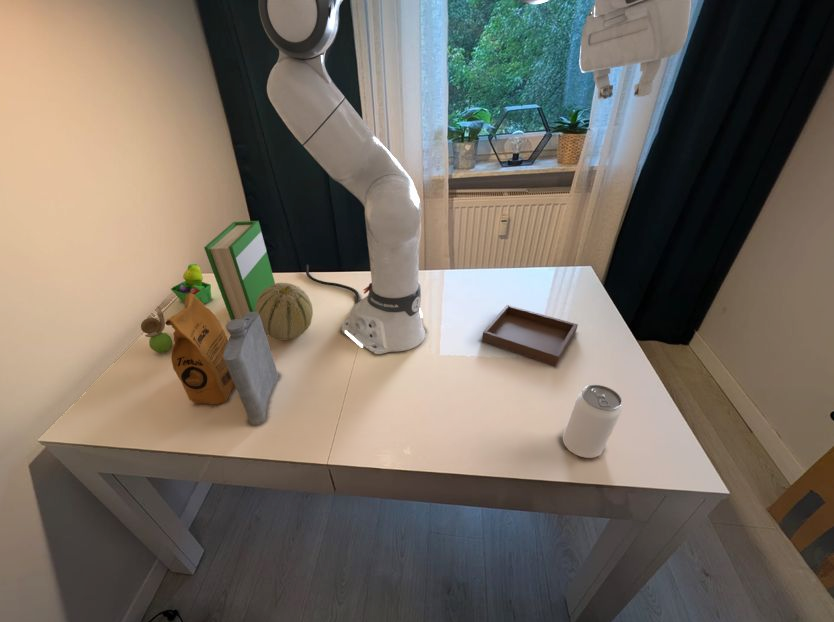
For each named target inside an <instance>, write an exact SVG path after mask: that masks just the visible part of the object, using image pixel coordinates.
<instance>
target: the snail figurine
mask: <svg viewBox="0 0 834 622" xmlns="http://www.w3.org/2000/svg"><path fill="white" fill-rule="evenodd" d="M157 309H158V311H157V313H156V315H157V317H158V318H155V317H147V318H145V319H144V320H143V321H142V322H141V323H140V329H141V331H142V332H143V333H145V337H146V338H149V341H148V345H149V347H150V349H151V350H152V351H154V352H155V353H158V354H163V353H164V354H165V353H167V352H168V351H170V350H172V348H173V345H174V340H173V339H172V336H170V334H168V333H166V332H163V331H164V330H165V326H166V324H165V323H166V321H165V317H164V311H163V310H162V308H161V307H160V306H159V305H158V306H157Z"/></svg>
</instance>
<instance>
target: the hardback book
mask: <svg viewBox="0 0 834 622" xmlns="http://www.w3.org/2000/svg"><path fill="white" fill-rule="evenodd" d="M261 228H262V227H261V225H260V221H259V220H244V221H233V222H231V223H230V225H228V226H227V227H226V228H224V230H222V231H221V232H220V233H219V234H218V235H216V236H215V237H214V238H213V239H212V240H210V241H209V242H208V243H207V244H206V245H205V246H204V247H203V248H204V251H205V253H206V256H207V260H208V262H209V264H210V268H211V270H212V272H213V275H214V278H215V281H216V284H217V286H218V289H219V292H220V294H221V295H220V296H221V297H222V300H223V302H224V305H225V308H226V311H227V314H228V316H229V319H230V321H231V320H234V319H242V318H243V317H244V316H245V315H246V314H247V313H249V312H255V311H256V302H257V299H258V297H259V295H260V294H261V293H262V292H263V291H264V290H265V289H266V288H268V287H270V286H271V285H273V284H276V281H275V278H274V274H273V270H272V266H271V262H270V260H269V255H268V252H267V247H266V244H265V240H264V237H263V233H262V229H261Z"/></svg>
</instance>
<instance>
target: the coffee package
mask: <svg viewBox="0 0 834 622" xmlns="http://www.w3.org/2000/svg"><path fill="white" fill-rule="evenodd" d="M165 326H171V328H172V329H173V330H174V331H173V345H172V347H171V354H170V358H171V360H170V361H171V364H172V369H173V371H174V372H175V374H176V376H177V378H178V379H179V380H180V383H181V385H182V386H183V389H184V391H185V393H186V395H187V397H188V399H189V401H191V402H193V403H194V404H197V405H199V404H211V405H218V404H223V403H226V402H227V401H228V399H229V397H230V394H231V391H232V390H233V389H234V388H236V387H235V385H234V382H233V380H232V377H231V375H230V373H229V370H228V368H227V365H226V363H225V361H224V358H223V355H224V351H225V347H226V345H227V342H228V340H229V338H228V337H227V335H226V332H225V330H224V328H223V326H222V325H221V322H220V320H219V319H218V317H217V316H216V315H215V313H213V312H212V311H211V309H210V308H209V307H207V306H206V305H205V304H203V303H202V302H201V301H200V300H199V299H197V298H196V297H195V296H194V295H193V294H192V293H189V294H187V295H186V296H185V302H184V309H182V310H180V311H179V312H177V313H176V314H173V315H172V316H171V317H170V318H167V319H166V321H165Z"/></svg>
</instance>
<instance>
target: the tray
mask: <svg viewBox="0 0 834 622" xmlns="http://www.w3.org/2000/svg"><path fill="white" fill-rule="evenodd" d="M578 326H579V324H578V323H574V322H571V321H569V320H564V319H560V318H556V317H552V316H549V315H547V314H546V315H545V314H542V313H538V312H535V311H532V310H531V311H530V310H527V309H523V308H519V307H517V306H512V305H509V304H506V305H505V306H504V307H503V308H502V309H501V311H500V312H499V313H498V314H497V316H495V318H494V319H493V320H492V321H491V322H490V323H489V325H488V326H487V327H486V328H485V329H484V330H483V331H482V336H481V342H483V343H484V344H485V343H486V344H489V345H491V346H495V347H497V348H500V349H503V350H506V351H509V352H512V353H515V354H519V355H521V356H524V357H527V358H530V359H533V360H535V361H536V360H537V361H538V362H542V363H544V364H548V365H550V366H554V367H557V366H558V364H559V362H560V360H561V359H562V357H563V355H564V354H565V352H566V350H567V348H568V347H569V345H570V343H571V342H572V340H573V339H574V336H575V335H576V332H577V330H578Z"/></svg>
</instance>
